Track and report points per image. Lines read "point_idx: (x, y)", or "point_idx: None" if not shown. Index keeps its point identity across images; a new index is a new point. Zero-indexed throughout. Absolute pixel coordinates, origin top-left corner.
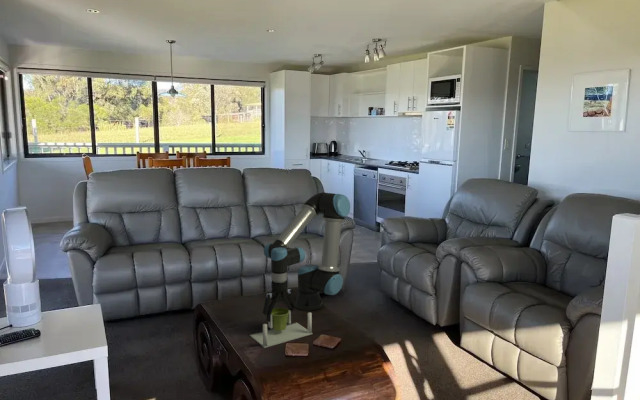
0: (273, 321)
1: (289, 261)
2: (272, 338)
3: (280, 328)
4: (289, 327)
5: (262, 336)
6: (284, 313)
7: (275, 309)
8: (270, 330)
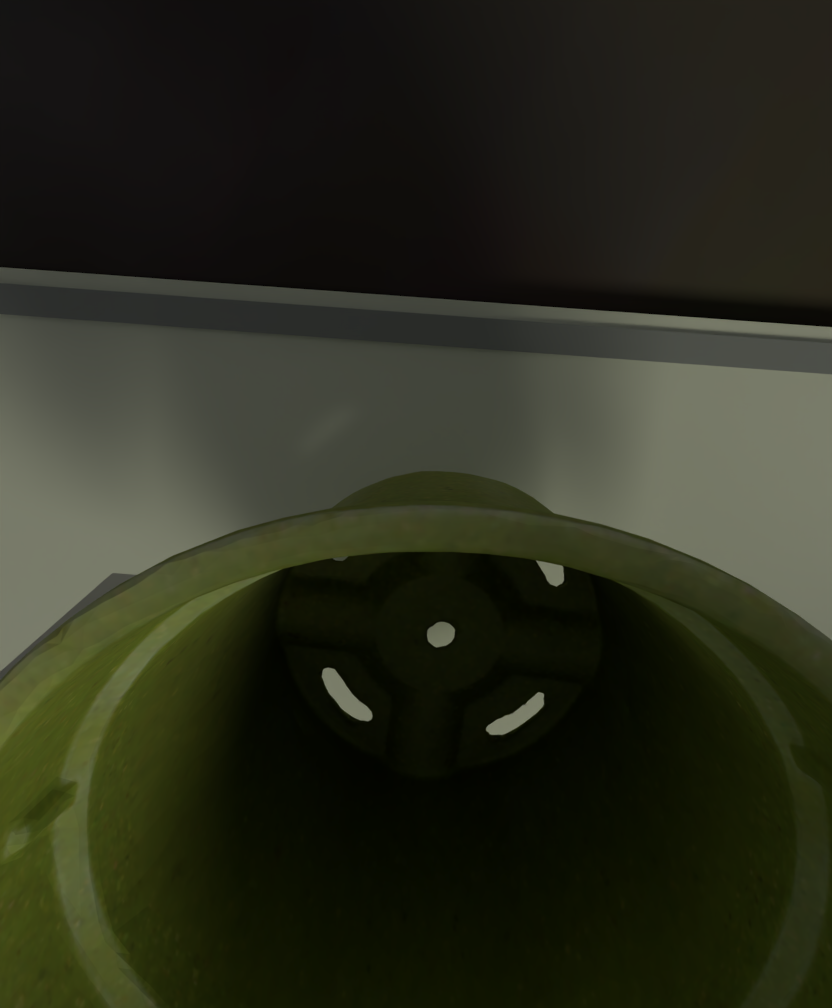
0: (172, 773)
1: None
2: None
3: (361, 796)
4: (782, 486)
5: (32, 505)
6: (769, 766)
7: (490, 547)
8: (332, 345)
